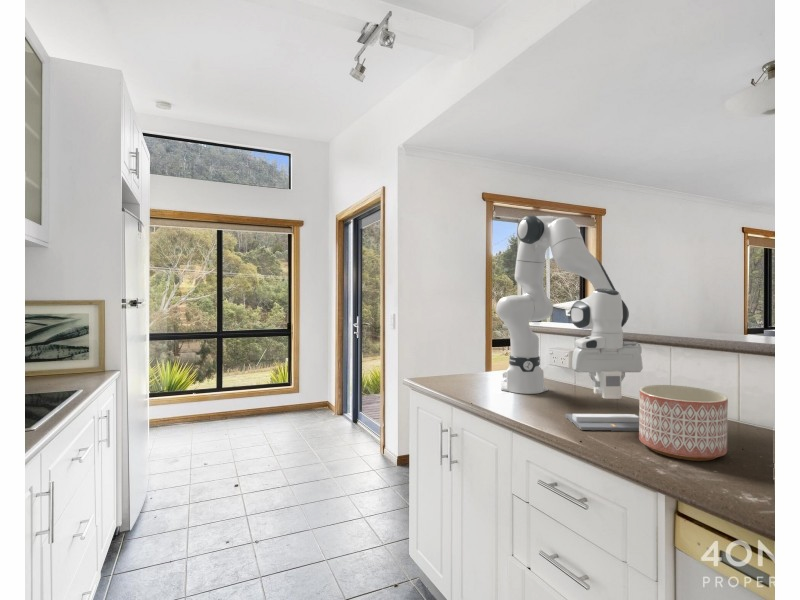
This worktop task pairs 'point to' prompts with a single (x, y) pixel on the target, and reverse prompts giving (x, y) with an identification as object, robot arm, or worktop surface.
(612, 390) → the block
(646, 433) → the planter
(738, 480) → the worktop surface
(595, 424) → the rail panel
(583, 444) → the worktop surface
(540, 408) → the worktop surface
